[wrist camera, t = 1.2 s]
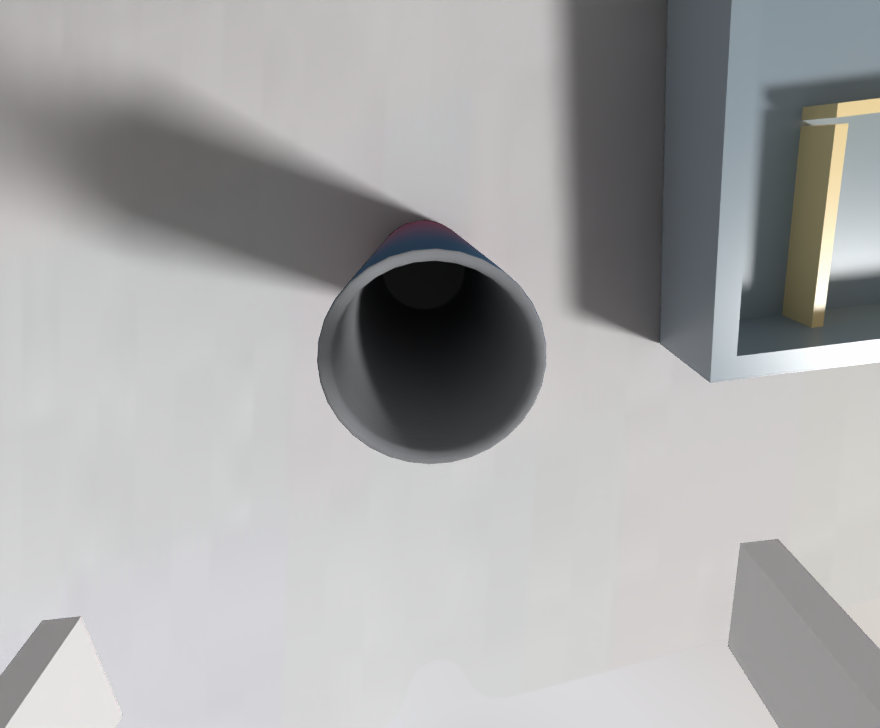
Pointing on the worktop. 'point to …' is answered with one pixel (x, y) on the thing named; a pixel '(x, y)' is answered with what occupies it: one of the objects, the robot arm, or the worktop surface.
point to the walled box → (771, 186)
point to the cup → (431, 349)
